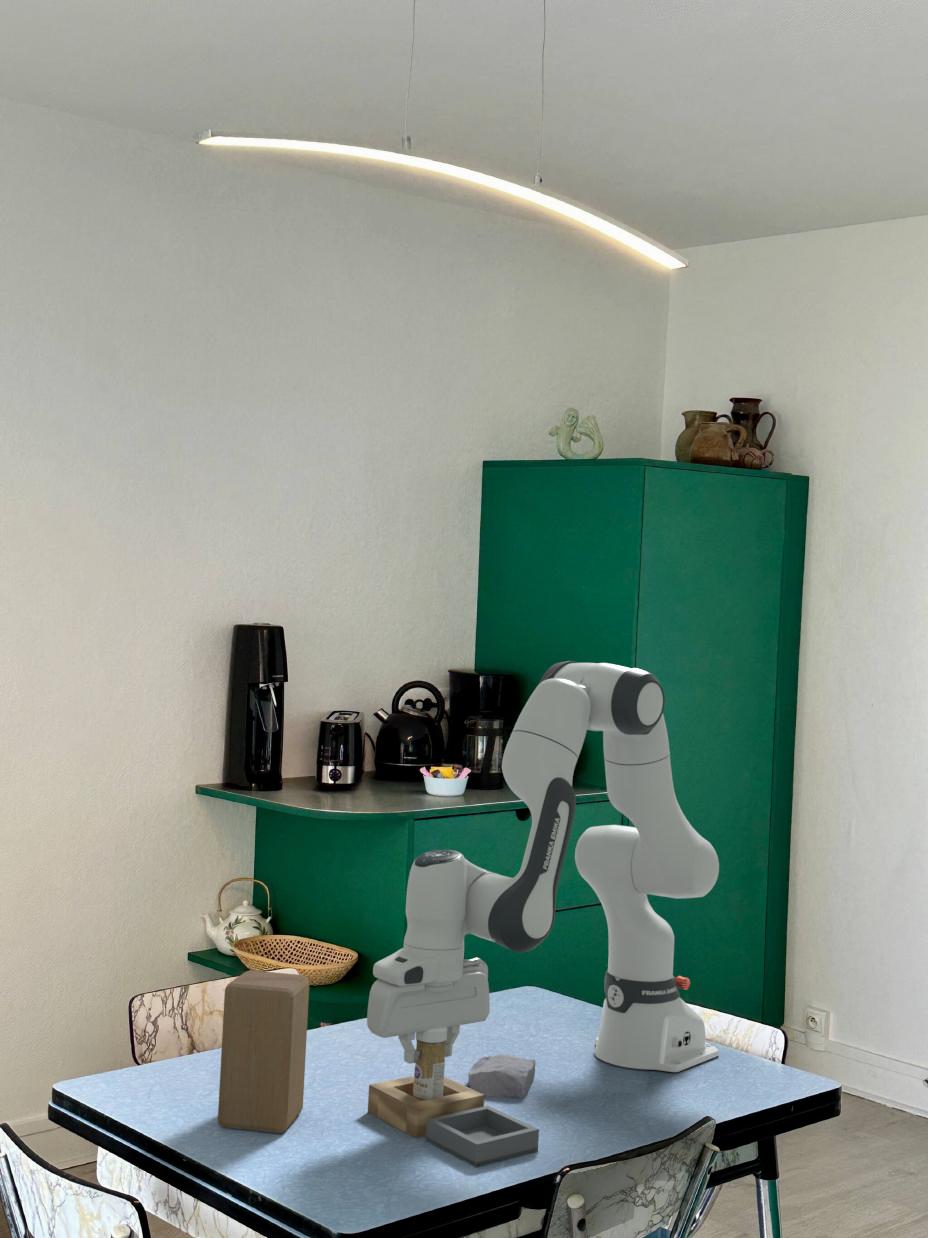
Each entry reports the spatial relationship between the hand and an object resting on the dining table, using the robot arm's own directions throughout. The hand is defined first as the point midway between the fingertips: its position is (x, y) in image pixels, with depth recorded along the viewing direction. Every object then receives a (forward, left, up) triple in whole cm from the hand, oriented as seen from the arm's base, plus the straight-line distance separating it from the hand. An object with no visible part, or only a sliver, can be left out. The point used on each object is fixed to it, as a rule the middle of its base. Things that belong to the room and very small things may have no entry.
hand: (427, 1059), depth 196 cm
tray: (0, +13, -9) cm, 15 cm away
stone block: (-19, -6, -9) cm, 22 cm away
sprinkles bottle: (0, 0, -9) cm, 9 cm away
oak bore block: (0, 0, -9) cm, 9 cm away
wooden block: (+21, -11, -9) cm, 25 cm away
